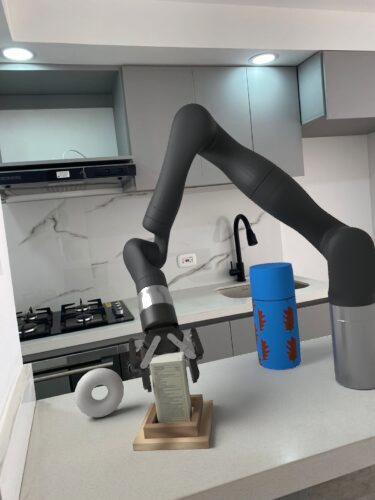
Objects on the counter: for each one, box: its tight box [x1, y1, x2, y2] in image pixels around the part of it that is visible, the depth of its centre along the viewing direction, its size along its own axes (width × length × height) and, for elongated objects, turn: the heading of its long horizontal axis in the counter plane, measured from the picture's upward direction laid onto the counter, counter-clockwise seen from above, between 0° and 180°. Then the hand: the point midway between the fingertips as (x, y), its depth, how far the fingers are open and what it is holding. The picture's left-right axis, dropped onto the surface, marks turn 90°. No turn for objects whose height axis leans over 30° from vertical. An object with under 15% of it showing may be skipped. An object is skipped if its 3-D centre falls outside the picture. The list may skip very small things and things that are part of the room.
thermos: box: [248, 261, 302, 371], centre depth 91 cm, size 11×11×25 cm
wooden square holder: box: [132, 393, 214, 451], centre depth 67 cm, size 13×14×3 cm
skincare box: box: [149, 352, 192, 423], centre depth 67 cm, size 6×4×12 cm
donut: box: [74, 367, 125, 418], centre depth 74 cm, size 10×4×10 cm, turn 109°
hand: (173, 385), depth 66 cm, fingers open, 8 cm apart
